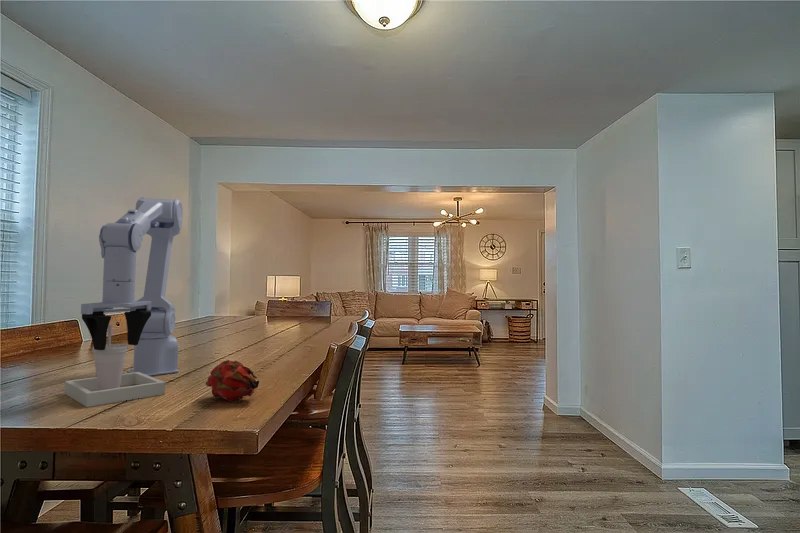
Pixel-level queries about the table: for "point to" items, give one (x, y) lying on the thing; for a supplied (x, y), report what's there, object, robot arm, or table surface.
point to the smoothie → (109, 364)
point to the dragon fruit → (232, 381)
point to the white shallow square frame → (142, 389)
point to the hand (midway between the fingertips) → (116, 347)
